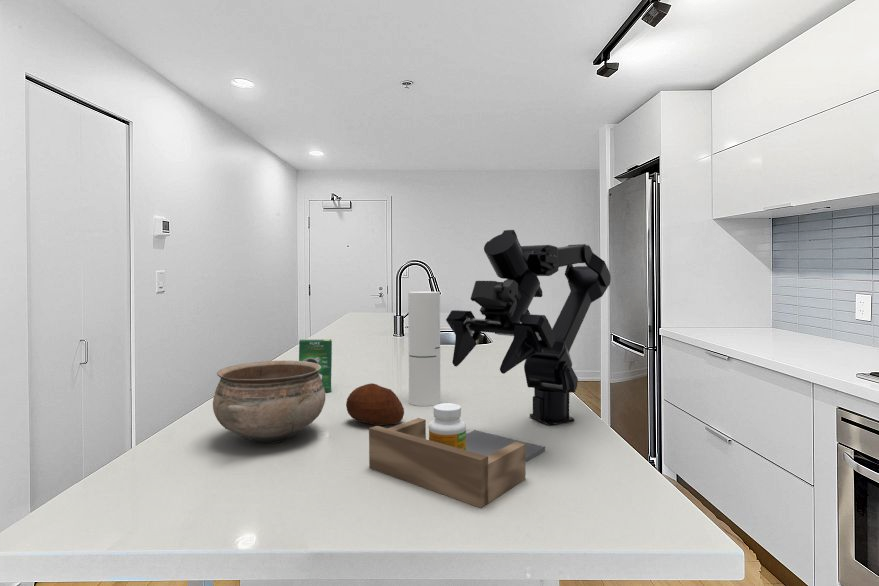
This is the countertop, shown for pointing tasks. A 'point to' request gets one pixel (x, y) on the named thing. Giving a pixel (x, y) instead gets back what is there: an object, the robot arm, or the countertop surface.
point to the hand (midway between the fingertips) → (477, 368)
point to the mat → (496, 444)
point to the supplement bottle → (448, 426)
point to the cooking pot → (268, 399)
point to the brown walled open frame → (445, 463)
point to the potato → (374, 405)
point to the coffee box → (318, 358)
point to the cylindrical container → (424, 348)
